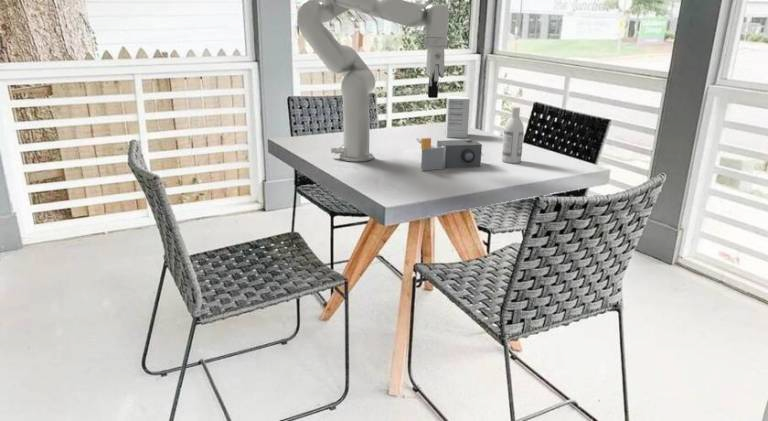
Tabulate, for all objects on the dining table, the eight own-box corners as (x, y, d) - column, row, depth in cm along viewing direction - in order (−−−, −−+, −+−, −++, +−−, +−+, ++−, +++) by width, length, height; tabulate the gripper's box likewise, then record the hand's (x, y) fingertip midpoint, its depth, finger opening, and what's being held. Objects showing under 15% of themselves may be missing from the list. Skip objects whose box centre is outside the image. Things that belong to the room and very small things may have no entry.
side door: (445, 168, 207) (447, 137, 203) (422, 171, 203) (423, 139, 200) (443, 168, 208) (445, 136, 204) (420, 170, 204) (421, 138, 201)
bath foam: (518, 159, 222) (523, 105, 215) (522, 163, 215) (527, 108, 209) (500, 158, 222) (504, 105, 215) (503, 163, 215) (508, 108, 209)
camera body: (443, 169, 207) (444, 145, 204) (436, 162, 216) (437, 139, 213) (481, 167, 209) (483, 143, 206) (473, 161, 218) (474, 138, 215)
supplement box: (467, 138, 257) (470, 99, 251) (446, 137, 257) (448, 98, 251) (465, 133, 266) (467, 95, 260) (444, 133, 266) (446, 95, 260)
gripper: (450, 44, 194) (447, 101, 200) (442, 41, 208) (439, 94, 214) (428, 44, 193) (425, 100, 199) (421, 41, 207) (419, 94, 213)
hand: (432, 97), depth 206 cm, fingers closed
